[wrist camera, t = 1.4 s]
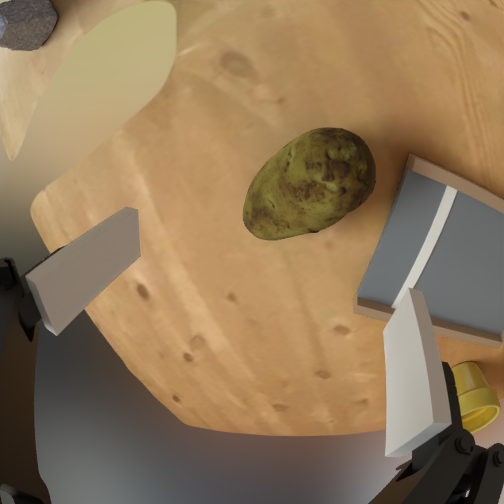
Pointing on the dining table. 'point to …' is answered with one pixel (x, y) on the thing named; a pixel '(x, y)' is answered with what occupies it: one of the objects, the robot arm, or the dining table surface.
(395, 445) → the robot arm
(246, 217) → the potato
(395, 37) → the dining table surface
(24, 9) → the stone
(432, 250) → the lane
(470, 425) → the plant pot
